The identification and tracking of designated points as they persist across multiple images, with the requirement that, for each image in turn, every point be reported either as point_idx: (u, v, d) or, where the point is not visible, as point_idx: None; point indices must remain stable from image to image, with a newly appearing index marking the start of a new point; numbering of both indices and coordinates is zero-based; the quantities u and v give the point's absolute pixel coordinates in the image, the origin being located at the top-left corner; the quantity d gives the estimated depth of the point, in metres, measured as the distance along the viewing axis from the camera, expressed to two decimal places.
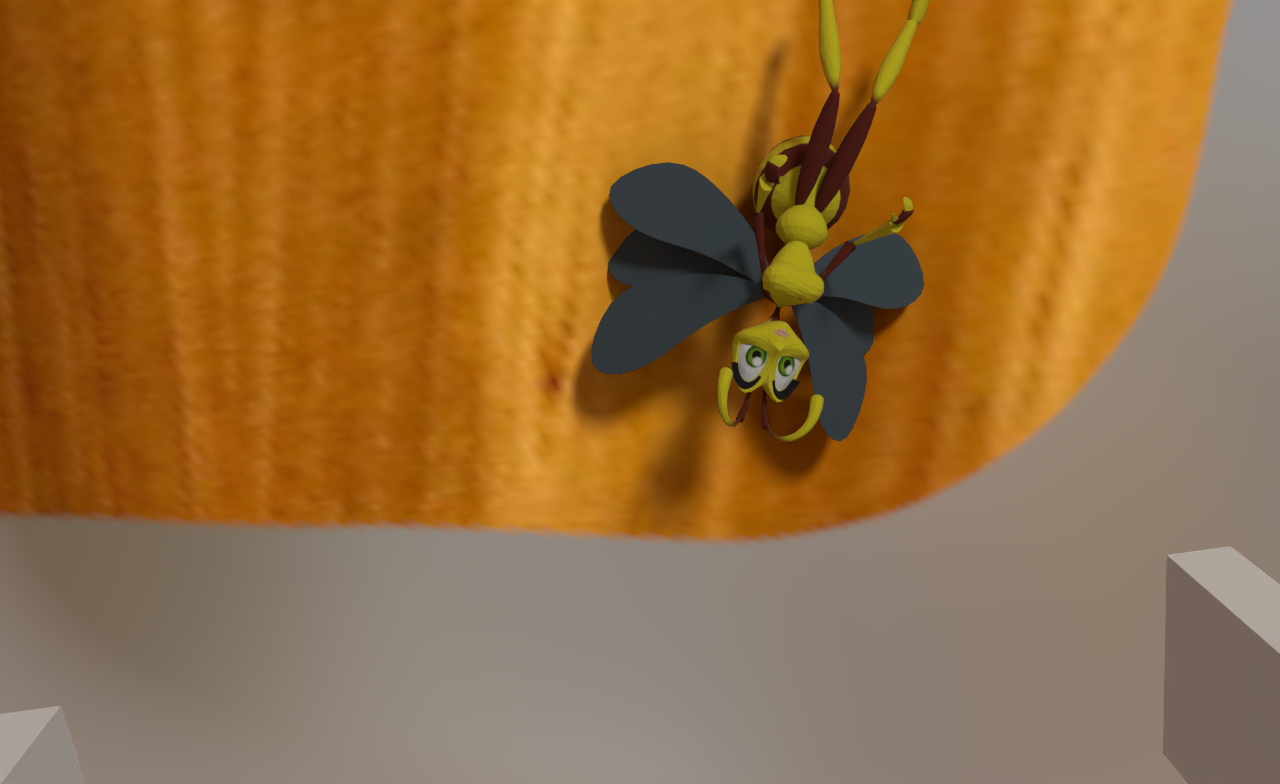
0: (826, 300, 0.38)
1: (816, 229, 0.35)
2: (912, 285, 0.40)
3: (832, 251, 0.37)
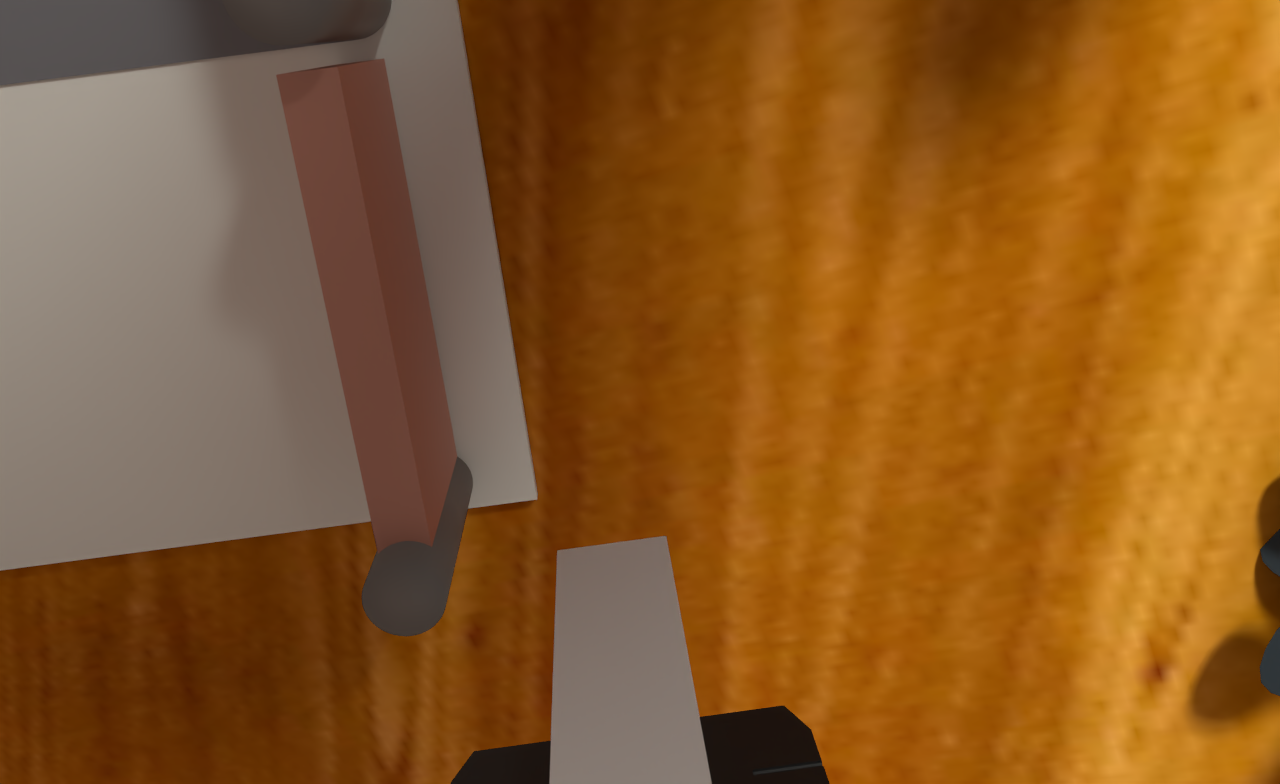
0: None
1: None
2: None
3: None
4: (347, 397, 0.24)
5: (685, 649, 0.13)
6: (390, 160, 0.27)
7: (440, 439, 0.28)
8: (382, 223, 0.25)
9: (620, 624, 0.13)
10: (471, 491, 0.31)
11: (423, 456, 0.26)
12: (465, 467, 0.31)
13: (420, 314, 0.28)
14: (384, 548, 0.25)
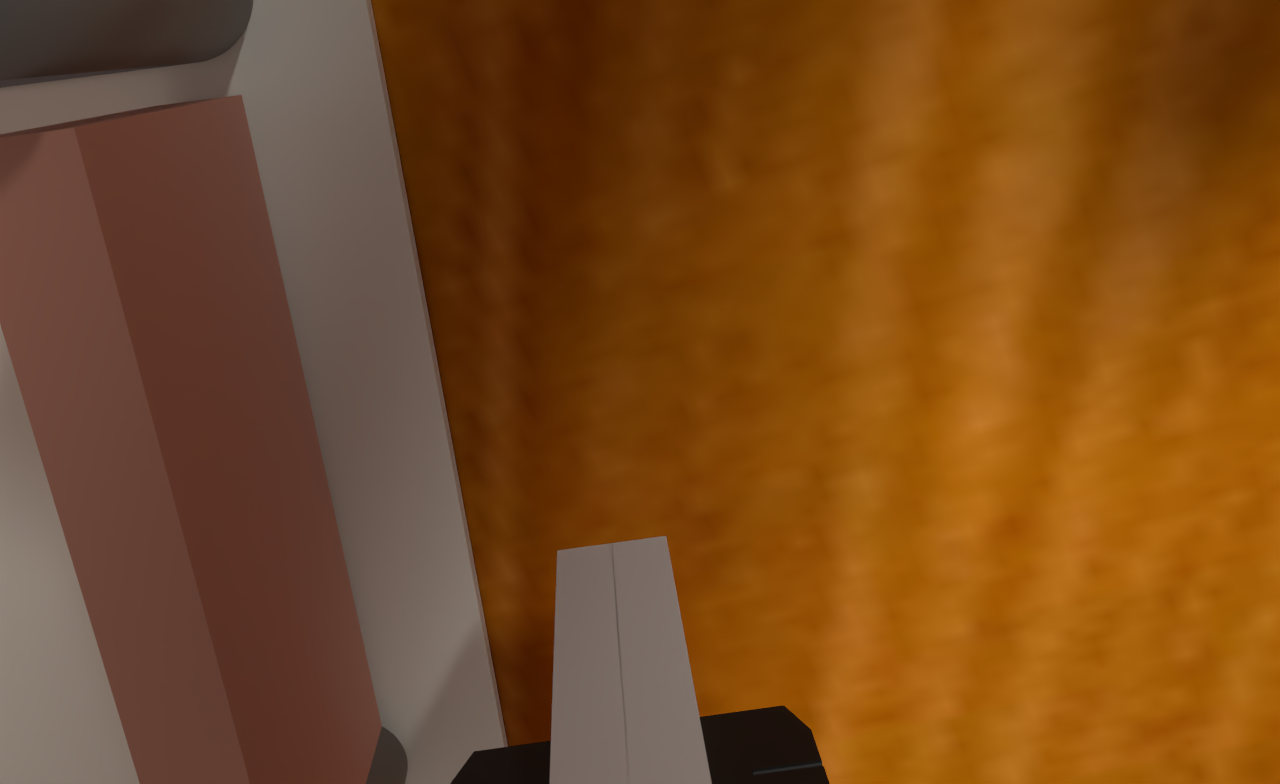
0: None
1: None
2: None
3: None
4: (133, 750, 0.13)
5: (685, 649, 0.13)
6: (243, 276, 0.15)
7: (343, 734, 0.17)
8: (206, 411, 0.13)
9: (620, 624, 0.13)
10: None
11: None
12: (394, 745, 0.19)
13: (306, 529, 0.16)
14: None
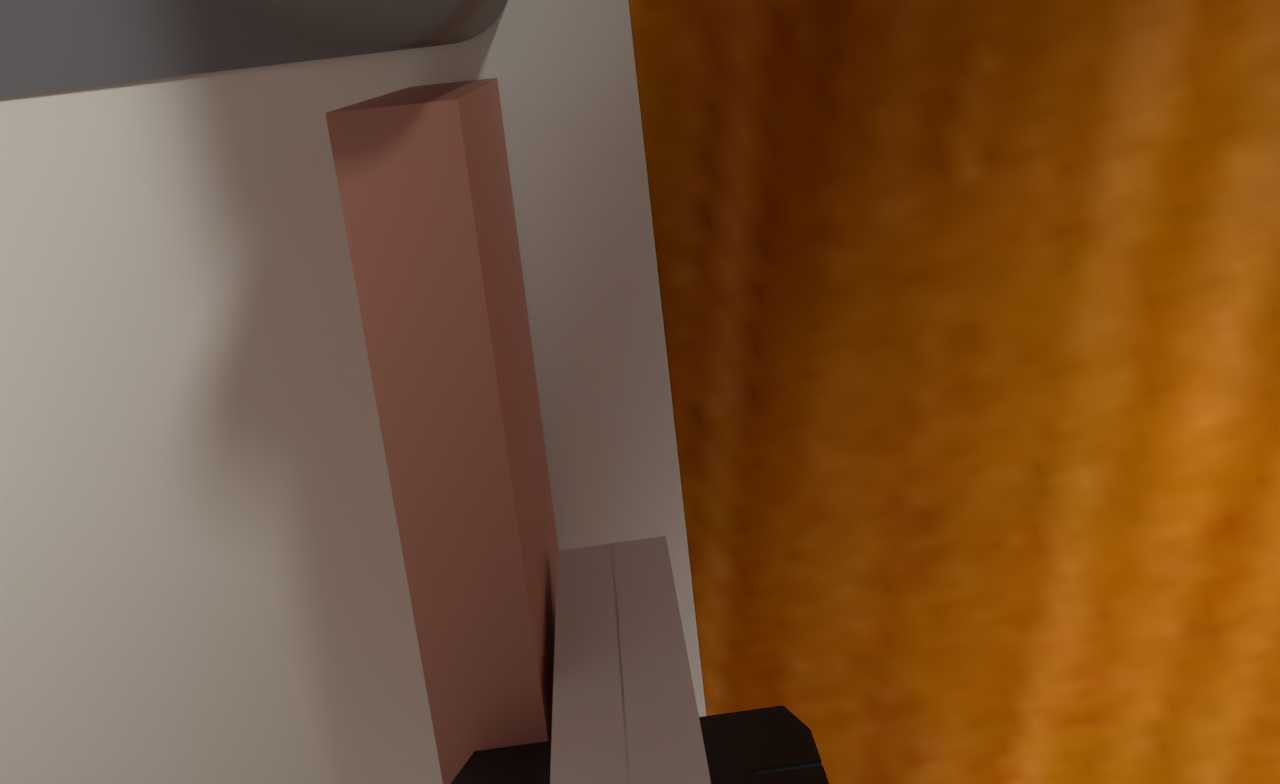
0: None
1: None
2: None
3: None
4: (441, 742, 0.12)
5: (684, 649, 0.13)
6: (511, 261, 0.15)
7: None
8: (513, 396, 0.13)
9: (620, 624, 0.13)
10: None
11: None
12: None
13: (547, 522, 0.16)
14: None
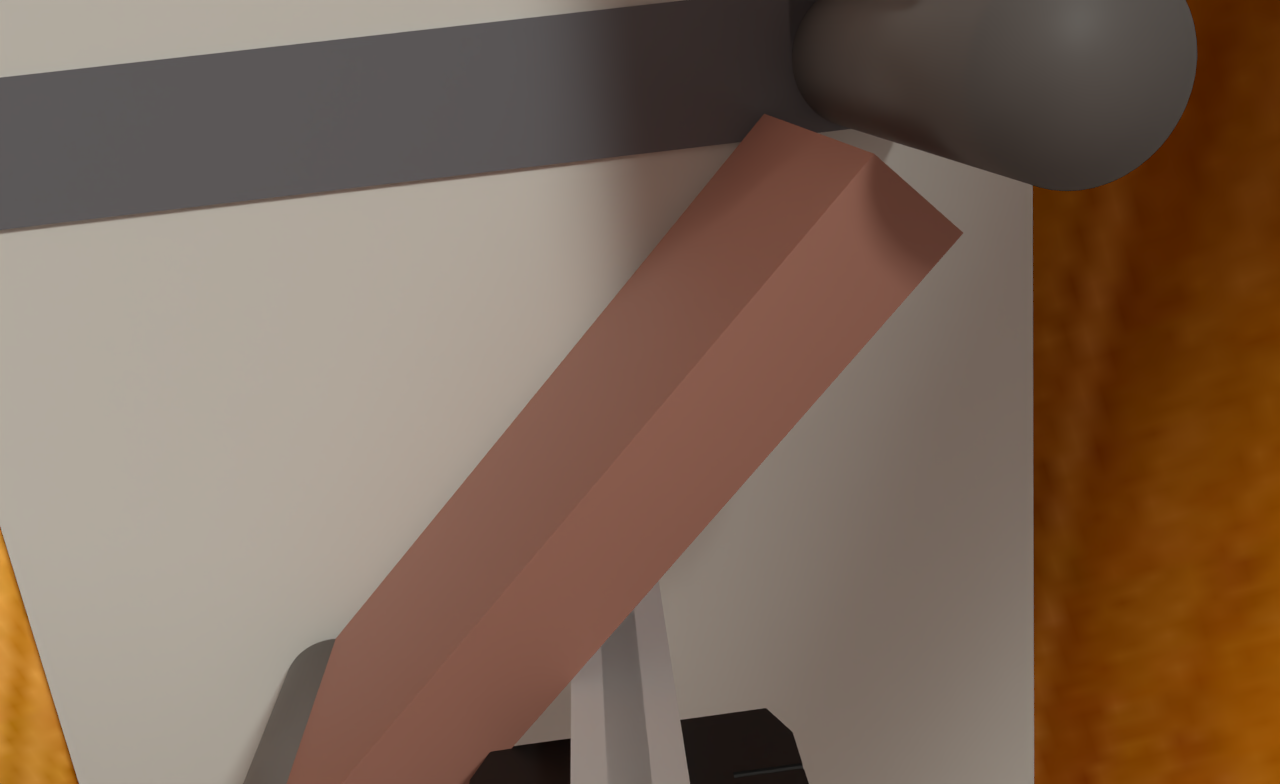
0: None
1: None
2: None
3: None
4: (454, 660, 0.12)
5: (667, 651, 0.13)
6: None
7: None
8: None
9: (637, 622, 0.13)
10: None
11: None
12: None
13: None
14: None
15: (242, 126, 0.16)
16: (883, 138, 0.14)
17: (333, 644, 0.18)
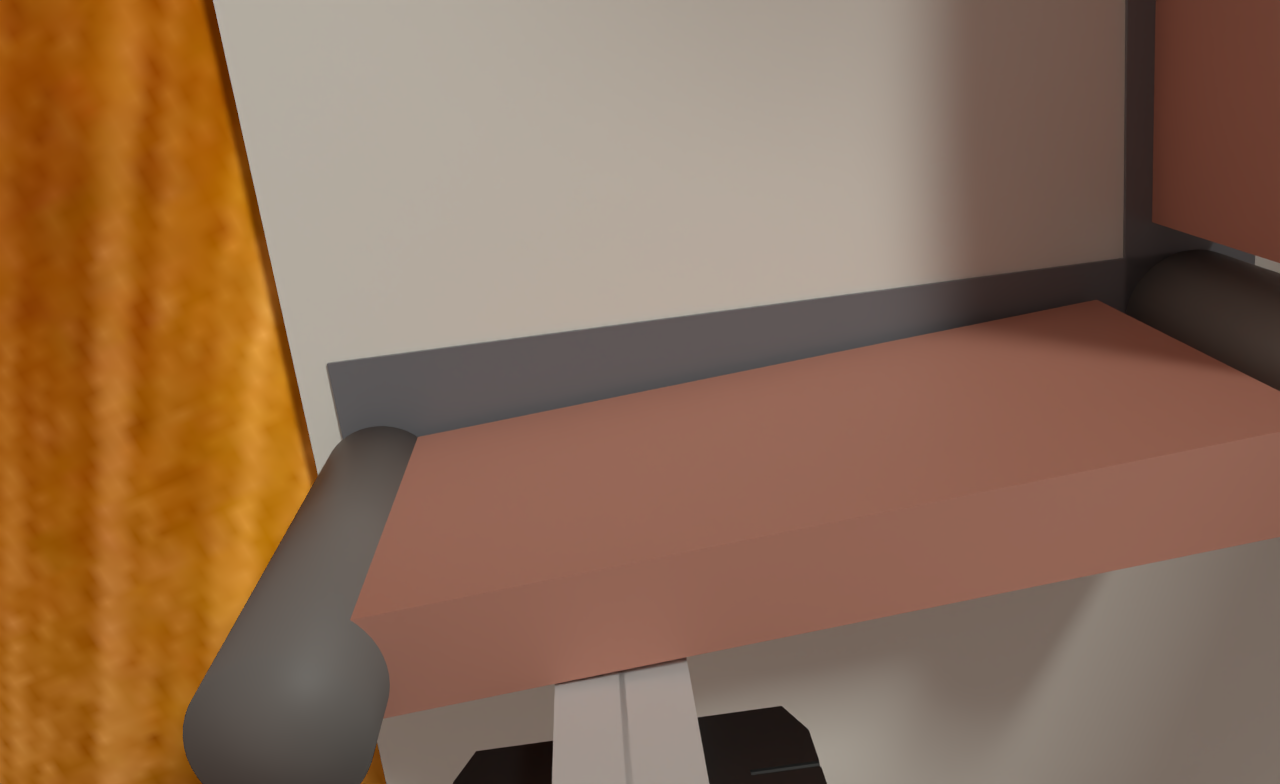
0: None
1: None
2: None
3: None
4: (704, 555, 0.12)
5: None
6: None
7: None
8: None
9: None
10: None
11: None
12: None
13: None
14: (367, 634, 0.12)
15: (624, 389, 0.17)
16: None
17: (416, 440, 0.17)
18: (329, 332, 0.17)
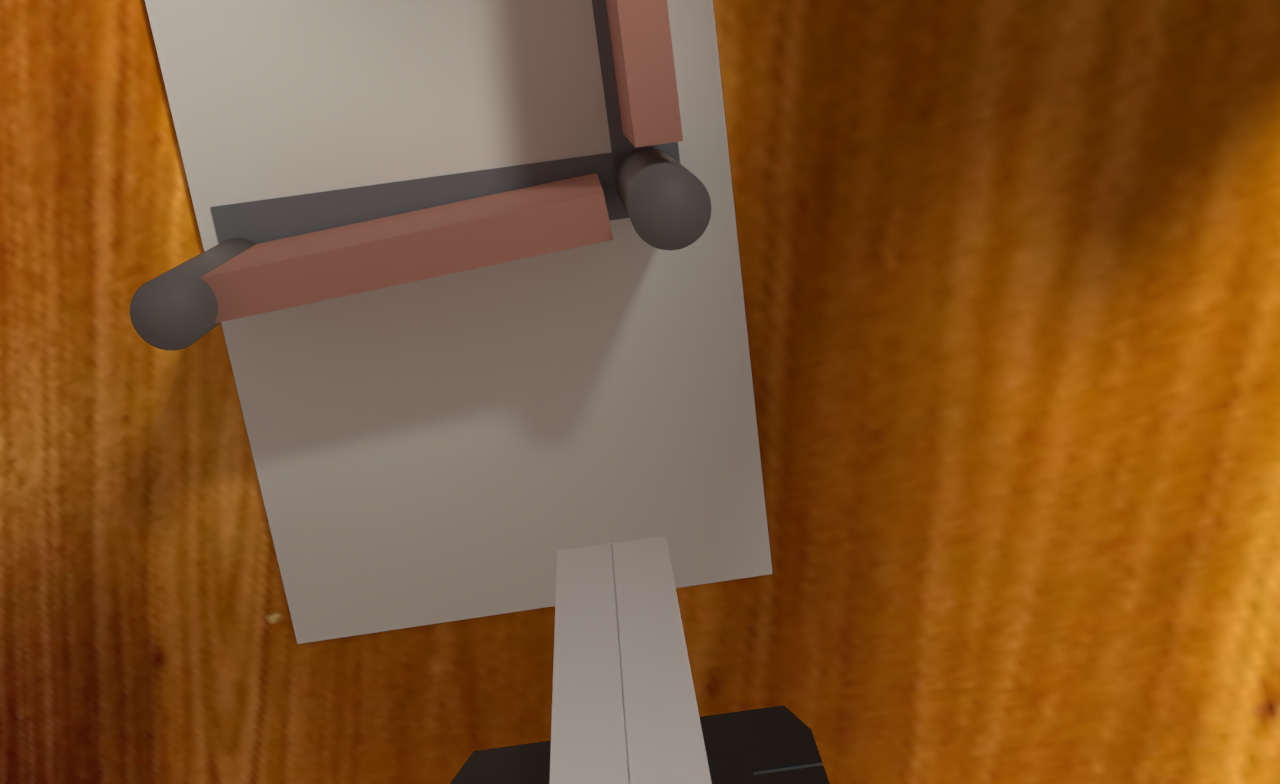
0: None
1: None
2: None
3: None
4: (345, 250, 0.29)
5: (685, 649, 0.13)
6: None
7: None
8: None
9: (620, 624, 0.13)
10: None
11: None
12: None
13: None
14: (207, 283, 0.29)
15: (361, 220, 0.34)
16: None
17: (255, 244, 0.34)
18: (211, 191, 0.34)
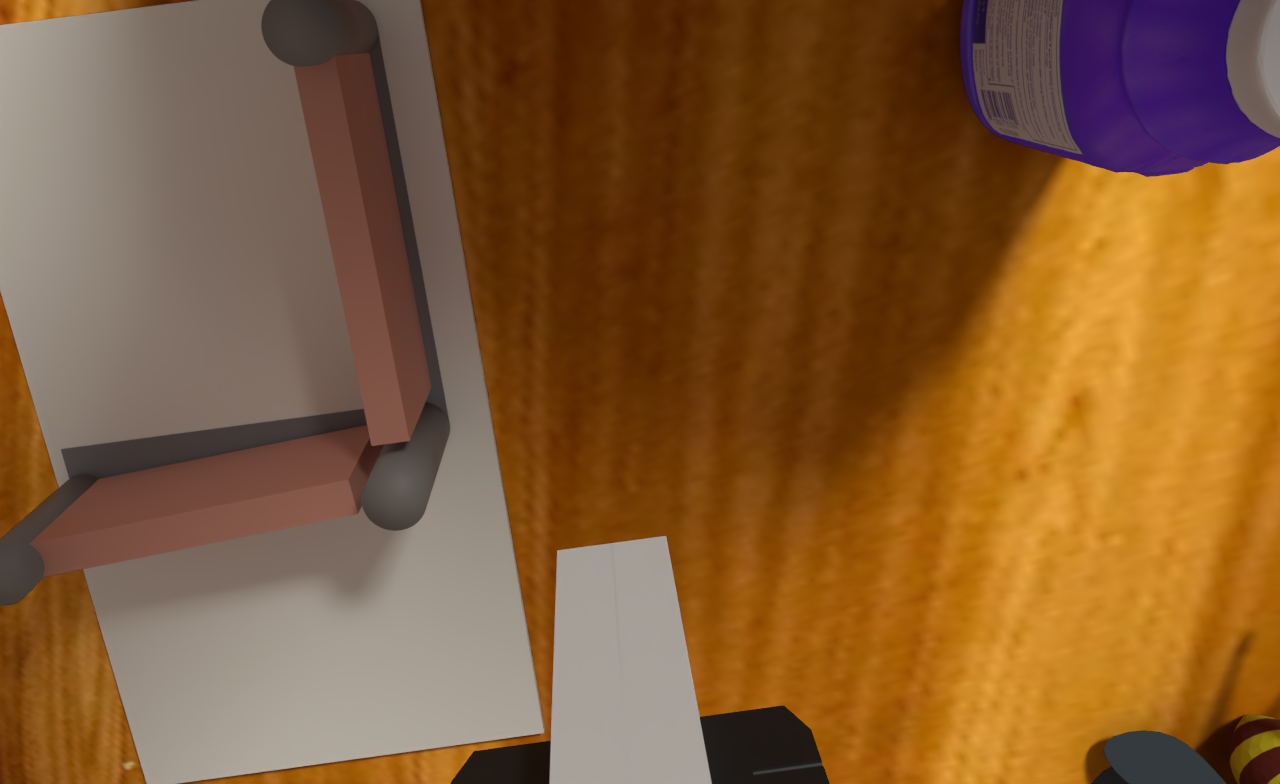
0: None
1: None
2: None
3: None
4: (143, 523, 0.36)
5: (685, 649, 0.13)
6: None
7: None
8: None
9: (620, 624, 0.13)
10: None
11: None
12: None
13: None
14: (34, 548, 0.36)
15: (185, 459, 0.42)
16: None
17: (96, 480, 0.41)
18: (61, 436, 0.41)
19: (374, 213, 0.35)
